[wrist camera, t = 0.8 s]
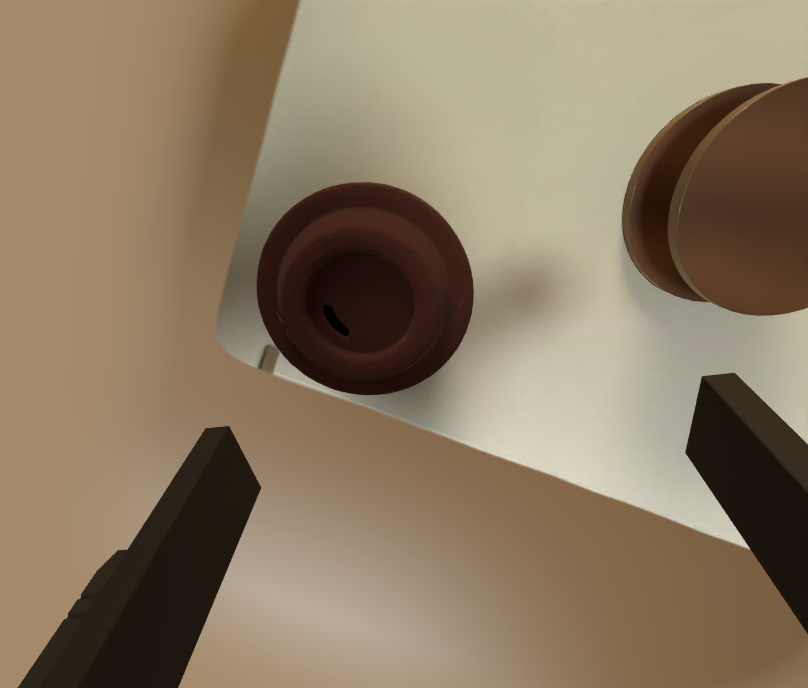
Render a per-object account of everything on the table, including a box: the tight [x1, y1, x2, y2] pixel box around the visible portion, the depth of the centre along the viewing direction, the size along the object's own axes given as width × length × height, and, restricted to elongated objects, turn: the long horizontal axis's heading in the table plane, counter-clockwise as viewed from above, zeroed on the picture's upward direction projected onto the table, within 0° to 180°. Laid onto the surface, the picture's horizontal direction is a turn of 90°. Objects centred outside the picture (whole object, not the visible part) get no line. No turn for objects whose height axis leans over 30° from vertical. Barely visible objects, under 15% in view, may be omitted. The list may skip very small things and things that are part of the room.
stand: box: [623, 77, 808, 316], centre depth 27 cm, size 14×14×6 cm
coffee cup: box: [257, 182, 474, 395], centre depth 25 cm, size 10×10×15 cm
